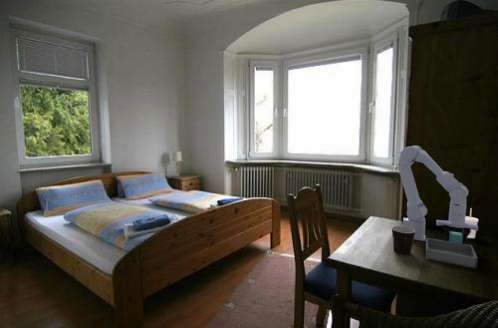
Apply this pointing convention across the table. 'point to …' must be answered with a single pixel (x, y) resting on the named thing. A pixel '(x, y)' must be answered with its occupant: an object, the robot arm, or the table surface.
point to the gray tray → (451, 253)
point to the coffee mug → (402, 239)
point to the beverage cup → (471, 221)
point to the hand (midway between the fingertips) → (454, 243)
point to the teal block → (455, 237)
